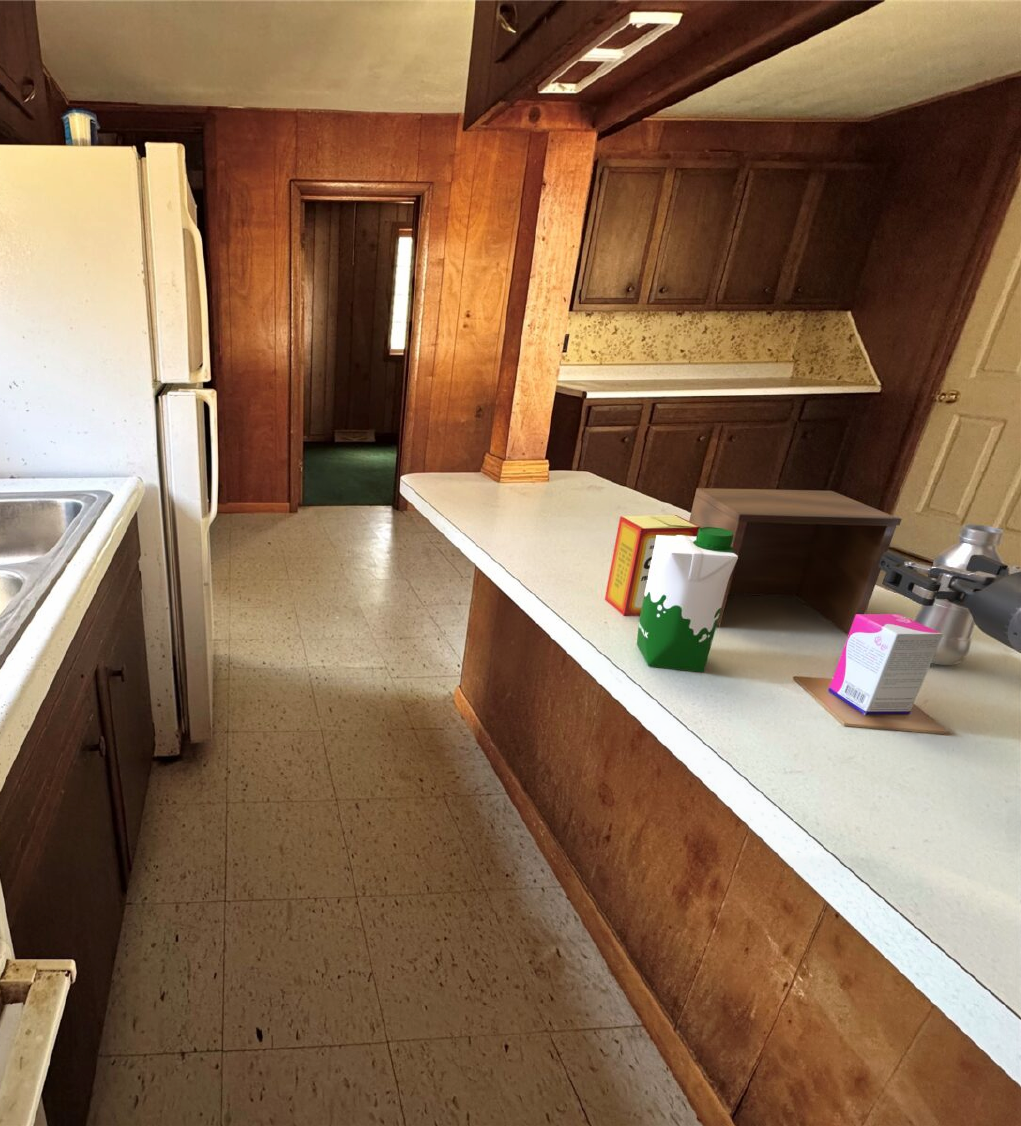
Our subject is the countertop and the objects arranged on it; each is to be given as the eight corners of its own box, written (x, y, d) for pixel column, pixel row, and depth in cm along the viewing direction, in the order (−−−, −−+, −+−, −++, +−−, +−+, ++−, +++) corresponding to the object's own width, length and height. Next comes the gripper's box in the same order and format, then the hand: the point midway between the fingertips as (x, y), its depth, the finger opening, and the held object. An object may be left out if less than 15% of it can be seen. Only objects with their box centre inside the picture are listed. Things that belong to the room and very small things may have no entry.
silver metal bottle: (897, 643, 94) (946, 517, 87) (962, 658, 89) (1019, 527, 82) (894, 659, 90) (946, 528, 82) (962, 676, 85) (1023, 540, 78)
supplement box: (912, 715, 77) (946, 633, 73) (863, 716, 77) (894, 635, 73) (870, 689, 82) (900, 612, 78) (825, 690, 83) (852, 613, 78)
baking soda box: (623, 615, 105) (641, 526, 99) (604, 599, 111) (620, 514, 105) (679, 614, 105) (701, 524, 99) (657, 598, 111) (676, 512, 105)
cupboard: (859, 636, 96) (902, 518, 89) (710, 627, 100) (739, 514, 93) (800, 594, 111) (833, 490, 104) (672, 588, 115) (695, 487, 108)
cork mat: (885, 684, 84) (886, 682, 84) (950, 734, 74) (951, 732, 74) (792, 678, 86) (793, 675, 86) (843, 725, 76) (844, 723, 76)
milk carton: (713, 676, 87) (749, 543, 80) (641, 668, 90) (669, 538, 82) (693, 646, 95) (724, 522, 87) (627, 640, 97) (652, 519, 90)
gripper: (954, 655, 60) (846, 587, 74) (1139, 666, 57) (989, 593, 72) (985, 584, 57) (866, 528, 72) (1181, 592, 54) (1016, 532, 69)
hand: (928, 560), depth 72 cm, fingers open, 8 cm apart
